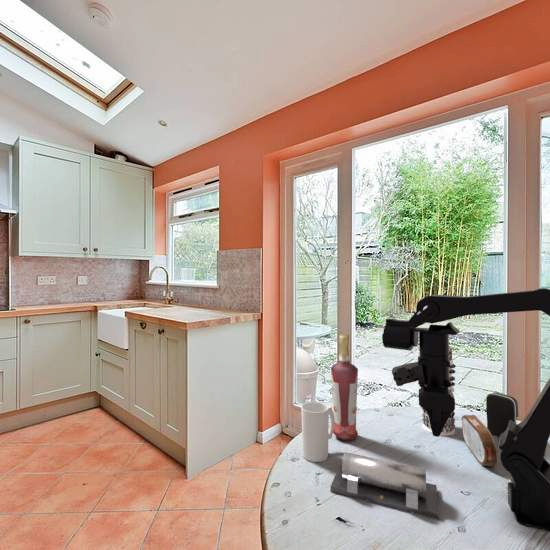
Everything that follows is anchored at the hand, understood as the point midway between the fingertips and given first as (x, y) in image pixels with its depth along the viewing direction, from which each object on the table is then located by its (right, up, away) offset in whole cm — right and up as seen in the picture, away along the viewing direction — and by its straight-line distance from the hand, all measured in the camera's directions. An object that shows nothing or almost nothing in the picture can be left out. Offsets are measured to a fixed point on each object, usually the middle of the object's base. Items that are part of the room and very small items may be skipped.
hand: (434, 426), depth 70 cm
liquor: (-15, -13, +21) cm, 28 cm away
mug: (-23, -13, +12) cm, 29 cm away
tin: (+16, -12, +11) cm, 23 cm away
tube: (-12, -11, -2) cm, 16 cm away
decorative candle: (+13, -12, +25) cm, 31 cm away
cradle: (-12, -12, -3) cm, 17 cm away
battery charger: (+29, -12, +20) cm, 37 cm away
